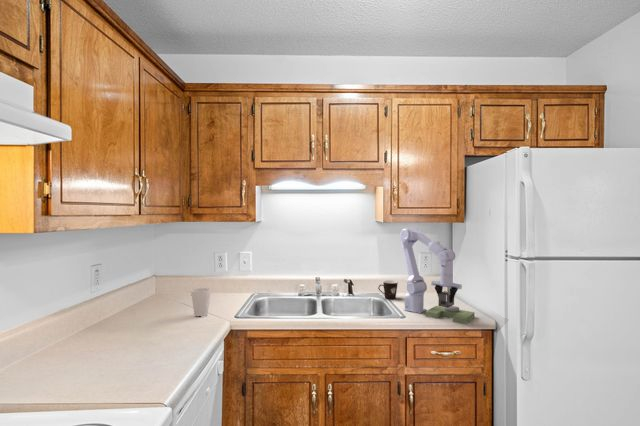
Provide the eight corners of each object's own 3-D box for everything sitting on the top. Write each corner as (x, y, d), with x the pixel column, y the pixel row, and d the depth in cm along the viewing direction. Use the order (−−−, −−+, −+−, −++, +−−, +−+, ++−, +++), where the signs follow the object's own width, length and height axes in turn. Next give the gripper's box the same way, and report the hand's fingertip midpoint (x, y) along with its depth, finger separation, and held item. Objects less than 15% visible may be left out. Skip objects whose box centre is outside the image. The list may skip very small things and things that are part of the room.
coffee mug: (396, 296, 240) (396, 280, 240) (398, 300, 232) (398, 283, 231) (377, 296, 241) (377, 280, 241) (378, 299, 233) (378, 283, 233)
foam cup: (201, 311, 205) (201, 287, 204) (214, 314, 200) (214, 289, 200) (187, 316, 197) (187, 290, 196) (200, 319, 192) (199, 292, 192)
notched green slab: (425, 316, 199) (425, 308, 199) (435, 310, 210) (436, 302, 210) (465, 323, 187) (465, 315, 187) (474, 317, 198) (474, 309, 198)
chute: (438, 306, 192) (438, 293, 192) (444, 303, 199) (444, 291, 199) (448, 307, 189) (448, 295, 189) (454, 304, 196) (454, 292, 196)
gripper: (463, 274, 192) (463, 302, 192) (435, 271, 201) (434, 297, 201) (459, 276, 186) (458, 305, 187) (429, 273, 195) (429, 300, 195)
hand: (446, 301), depth 194 cm, fingers closed on chute, 5 cm apart
